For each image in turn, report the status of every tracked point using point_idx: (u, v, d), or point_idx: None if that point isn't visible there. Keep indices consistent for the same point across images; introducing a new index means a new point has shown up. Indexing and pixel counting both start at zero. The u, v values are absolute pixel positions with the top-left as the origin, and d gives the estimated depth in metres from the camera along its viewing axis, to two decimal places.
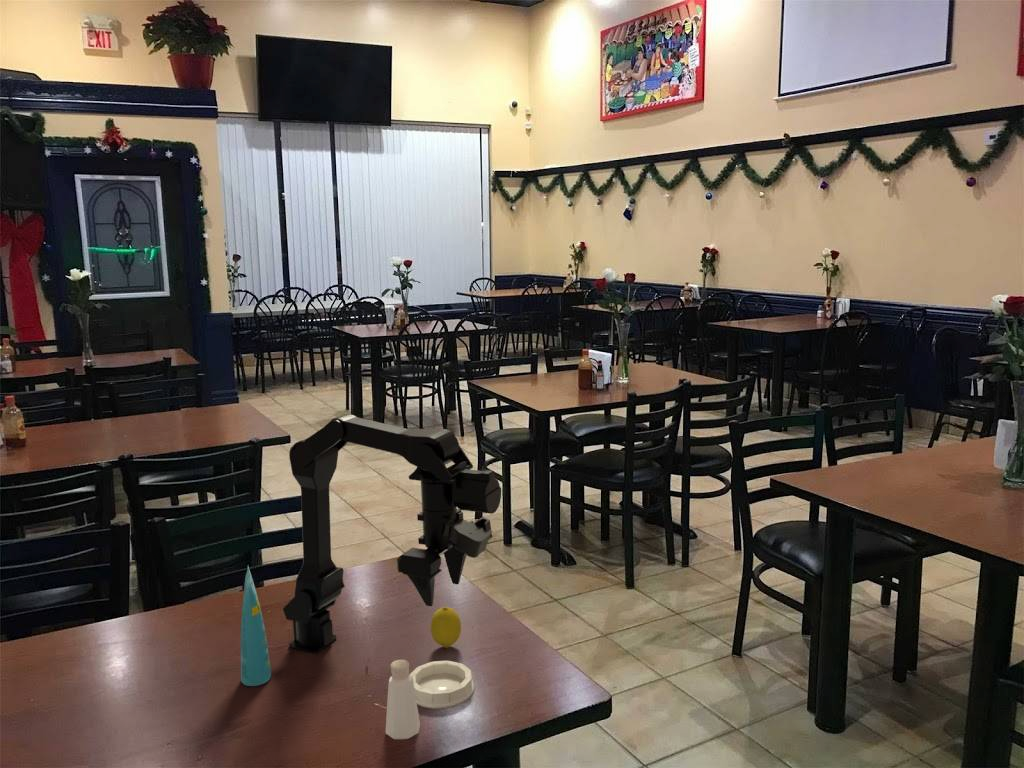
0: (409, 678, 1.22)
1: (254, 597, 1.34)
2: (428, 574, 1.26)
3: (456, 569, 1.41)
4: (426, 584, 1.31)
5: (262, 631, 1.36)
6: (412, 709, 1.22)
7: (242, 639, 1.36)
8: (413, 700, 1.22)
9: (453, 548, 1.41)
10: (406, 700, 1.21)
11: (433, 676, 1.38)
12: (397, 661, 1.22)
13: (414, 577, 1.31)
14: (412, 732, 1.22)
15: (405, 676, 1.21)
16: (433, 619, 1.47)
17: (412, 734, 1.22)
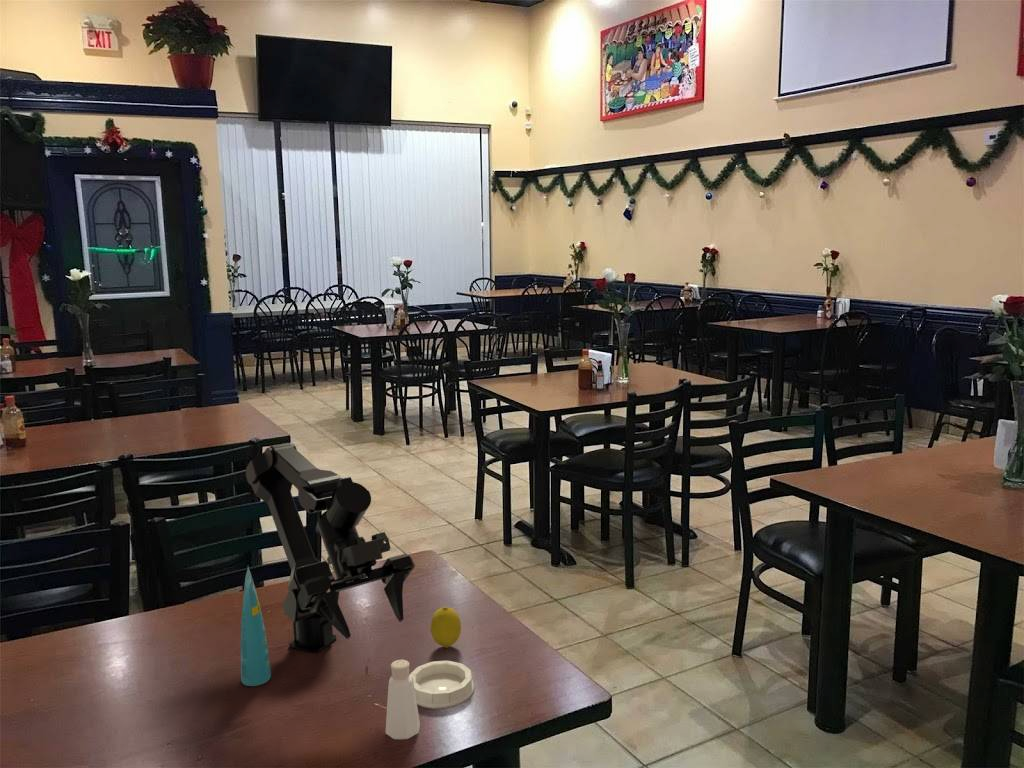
0: (409, 678, 1.22)
1: (254, 597, 1.34)
2: (310, 593, 1.24)
3: (396, 605, 1.31)
4: (333, 613, 1.26)
5: (262, 631, 1.36)
6: (412, 709, 1.22)
7: (242, 639, 1.36)
8: (413, 700, 1.22)
9: (389, 586, 1.34)
10: (406, 700, 1.21)
11: (433, 676, 1.38)
12: (397, 661, 1.22)
13: (324, 613, 1.27)
14: (412, 732, 1.22)
15: (405, 676, 1.21)
16: (433, 619, 1.47)
17: (412, 734, 1.22)
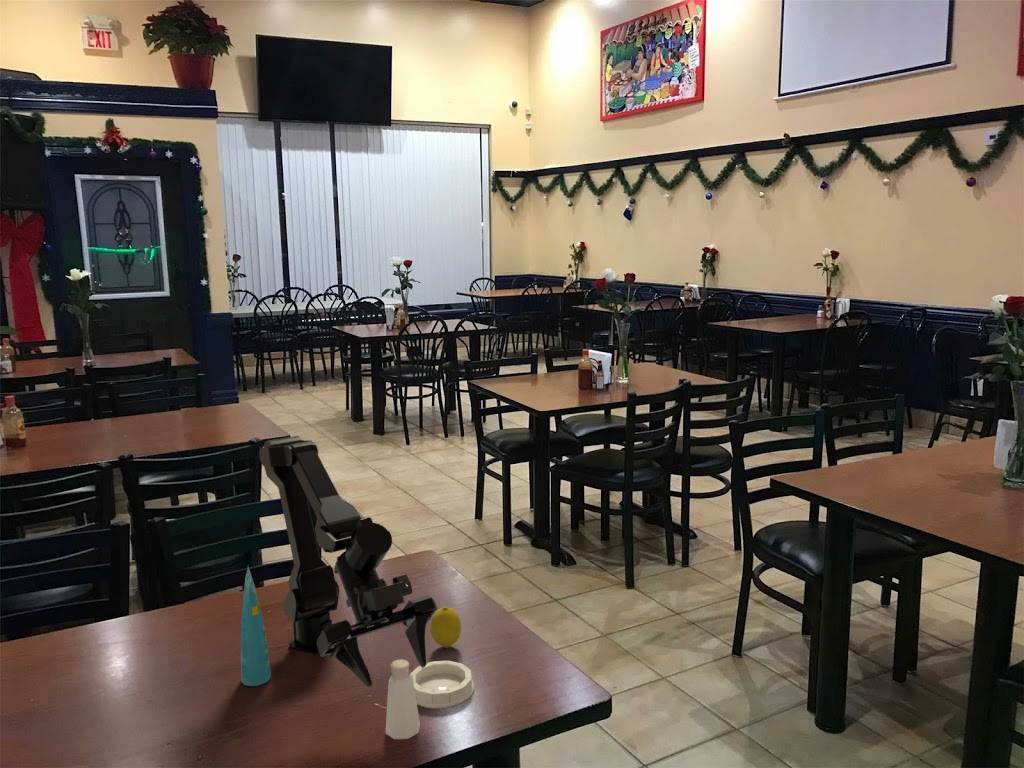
0: (409, 678, 1.22)
1: (254, 597, 1.34)
2: (330, 640, 1.19)
3: (418, 650, 1.27)
4: (353, 661, 1.21)
5: (262, 631, 1.36)
6: (412, 709, 1.22)
7: (242, 639, 1.36)
8: (413, 700, 1.22)
9: (410, 629, 1.29)
10: (406, 700, 1.21)
11: (433, 676, 1.38)
12: (397, 661, 1.22)
13: (344, 659, 1.23)
14: (412, 732, 1.22)
15: (405, 676, 1.21)
16: (433, 619, 1.47)
17: (412, 734, 1.22)
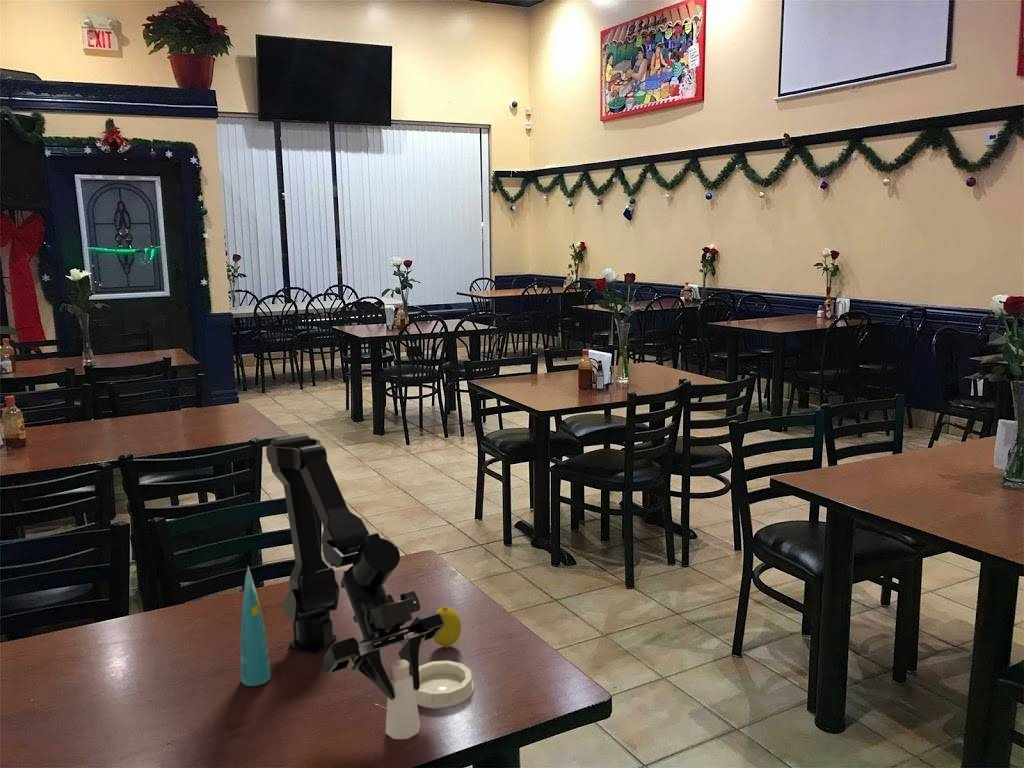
0: (409, 678, 1.22)
1: (254, 597, 1.34)
2: (337, 658, 1.18)
3: (412, 672, 1.24)
4: (376, 673, 1.21)
5: (262, 631, 1.36)
6: (412, 709, 1.22)
7: (242, 639, 1.36)
8: (413, 700, 1.22)
9: (404, 650, 1.26)
10: (406, 700, 1.21)
11: (433, 676, 1.38)
12: (397, 661, 1.22)
13: (367, 672, 1.23)
14: (412, 732, 1.22)
15: (405, 676, 1.21)
16: None
17: (412, 734, 1.22)
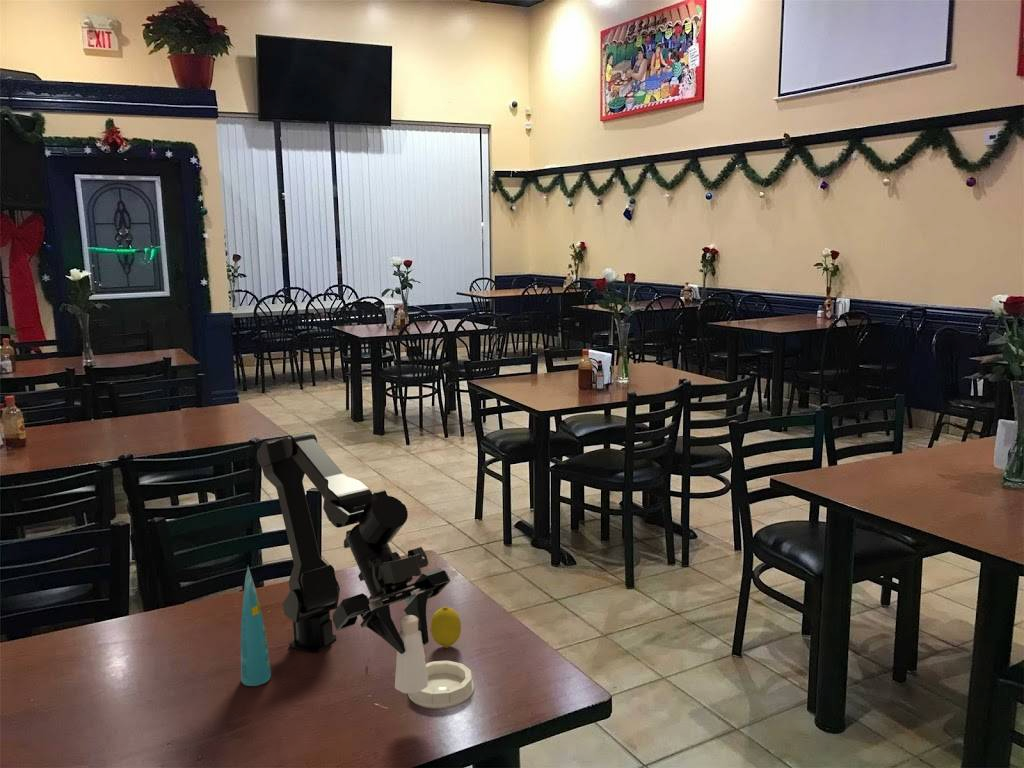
0: (418, 633, 1.24)
1: (254, 597, 1.34)
2: (349, 613, 1.18)
3: (420, 627, 1.25)
4: (386, 628, 1.22)
5: (262, 631, 1.36)
6: (422, 663, 1.23)
7: (242, 639, 1.36)
8: (422, 654, 1.24)
9: (411, 607, 1.27)
10: (416, 654, 1.22)
11: (433, 676, 1.38)
12: (406, 616, 1.24)
13: (375, 627, 1.24)
14: (421, 686, 1.23)
15: (414, 631, 1.23)
16: (433, 619, 1.47)
17: (421, 688, 1.23)
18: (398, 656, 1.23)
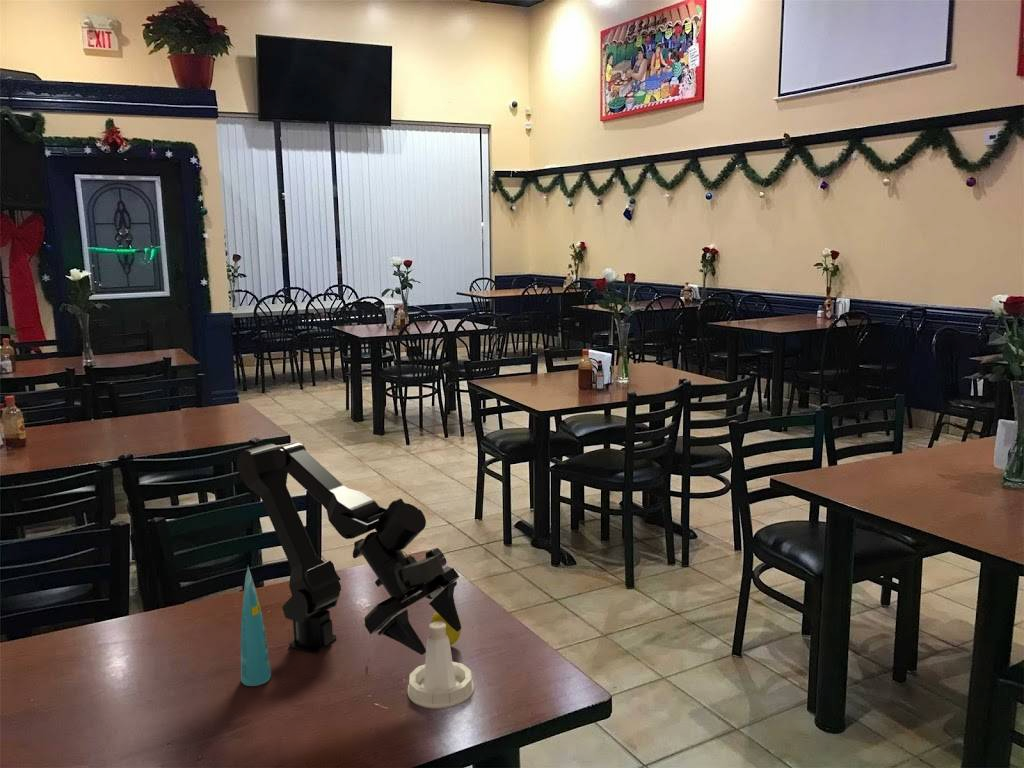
0: (446, 637, 1.33)
1: (254, 597, 1.34)
2: (387, 615, 1.26)
3: (451, 616, 1.37)
4: (405, 633, 1.29)
5: (262, 631, 1.36)
6: (451, 665, 1.33)
7: (242, 639, 1.36)
8: (451, 656, 1.33)
9: (438, 599, 1.39)
10: (446, 657, 1.32)
11: None
12: (434, 623, 1.33)
13: (393, 633, 1.30)
14: (452, 686, 1.33)
15: (443, 635, 1.32)
16: (433, 619, 1.47)
17: (452, 687, 1.33)
18: (429, 661, 1.32)
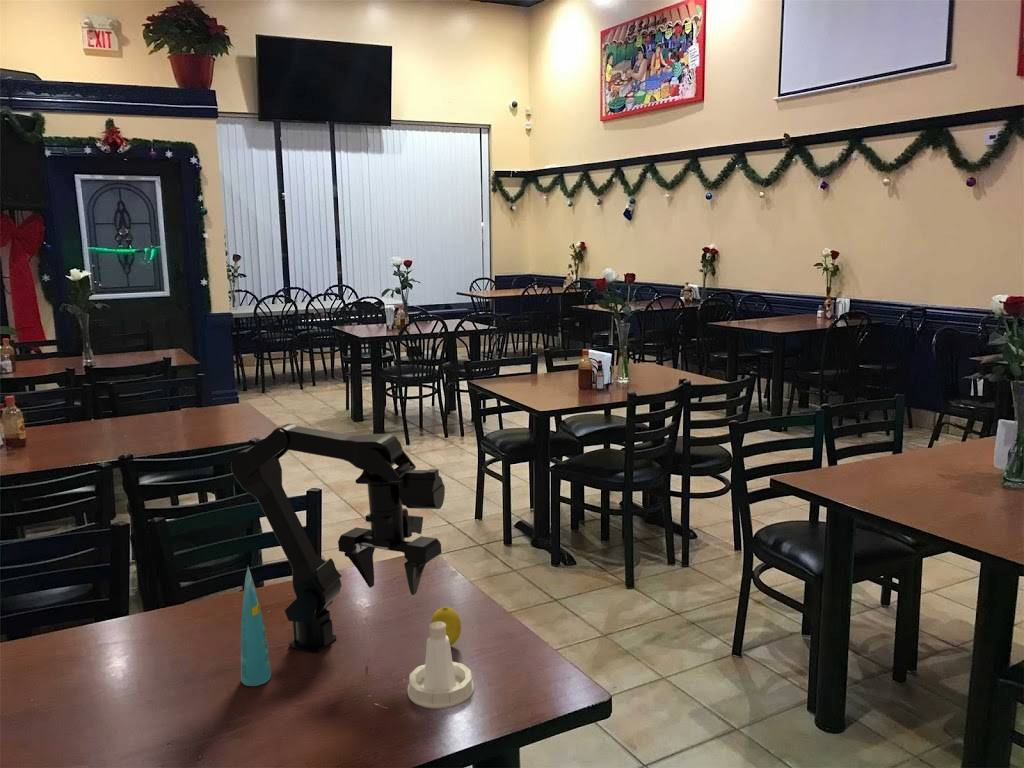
0: (446, 637, 1.33)
1: (254, 597, 1.34)
2: (440, 550, 1.42)
3: (370, 572, 1.47)
4: (419, 571, 1.42)
5: (262, 631, 1.36)
6: (451, 665, 1.33)
7: (242, 639, 1.36)
8: (451, 656, 1.33)
9: (365, 554, 1.46)
10: (446, 657, 1.32)
11: None
12: (434, 623, 1.33)
13: (415, 569, 1.40)
14: (452, 686, 1.33)
15: (444, 635, 1.32)
16: (433, 619, 1.47)
17: (452, 687, 1.33)
18: (429, 661, 1.32)
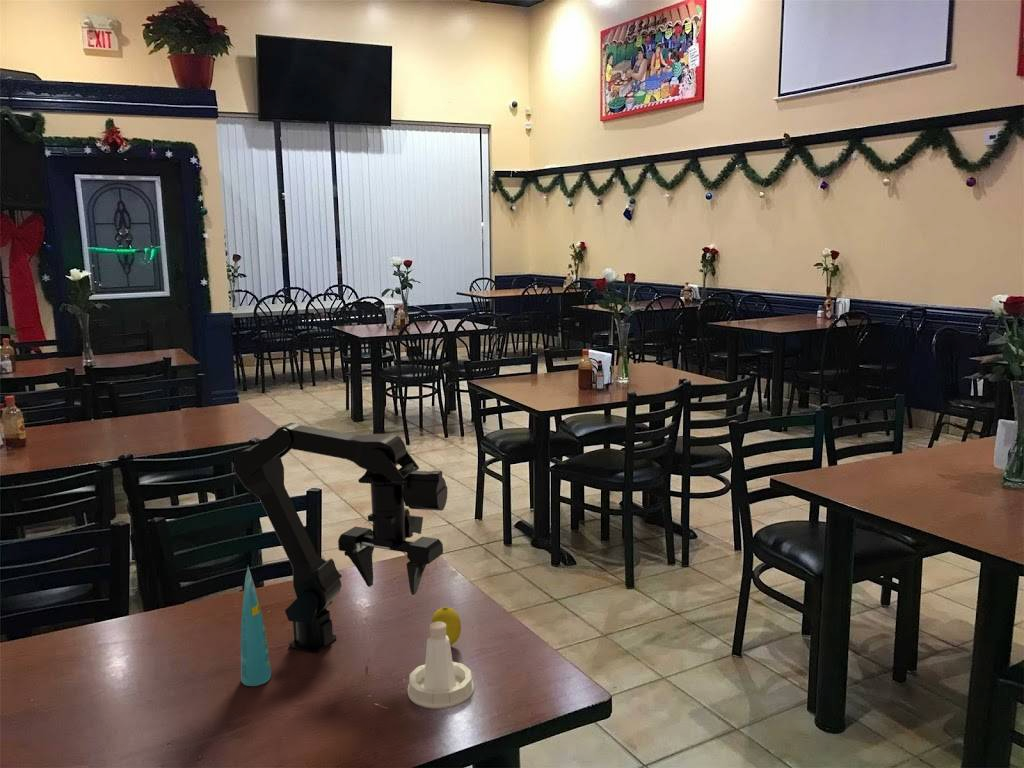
0: (446, 637, 1.33)
1: (254, 597, 1.34)
2: None
3: (369, 572, 1.47)
4: (420, 571, 1.43)
5: (262, 631, 1.36)
6: (451, 665, 1.33)
7: (242, 639, 1.36)
8: (451, 656, 1.33)
9: (365, 553, 1.46)
10: (446, 657, 1.32)
11: None
12: (434, 623, 1.33)
13: (417, 569, 1.40)
14: (452, 686, 1.33)
15: (444, 635, 1.32)
16: (433, 619, 1.47)
17: None
18: (429, 661, 1.32)
